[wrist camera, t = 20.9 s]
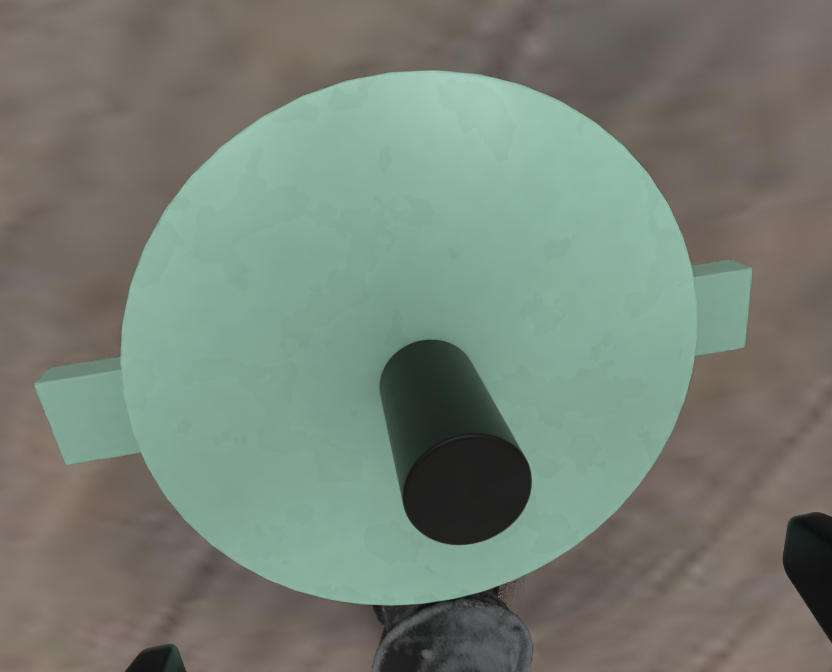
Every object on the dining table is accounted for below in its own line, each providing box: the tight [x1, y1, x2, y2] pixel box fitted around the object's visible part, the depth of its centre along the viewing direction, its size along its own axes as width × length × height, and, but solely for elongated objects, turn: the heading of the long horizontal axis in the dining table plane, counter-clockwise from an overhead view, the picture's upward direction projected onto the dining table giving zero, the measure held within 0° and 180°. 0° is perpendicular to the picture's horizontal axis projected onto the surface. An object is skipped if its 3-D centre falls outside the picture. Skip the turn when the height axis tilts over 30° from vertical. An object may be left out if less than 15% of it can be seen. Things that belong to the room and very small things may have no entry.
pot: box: [34, 259, 753, 465], centre depth 18 cm, size 13×19×5 cm
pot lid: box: [120, 70, 697, 605], centre depth 14 cm, size 14×14×6 cm
